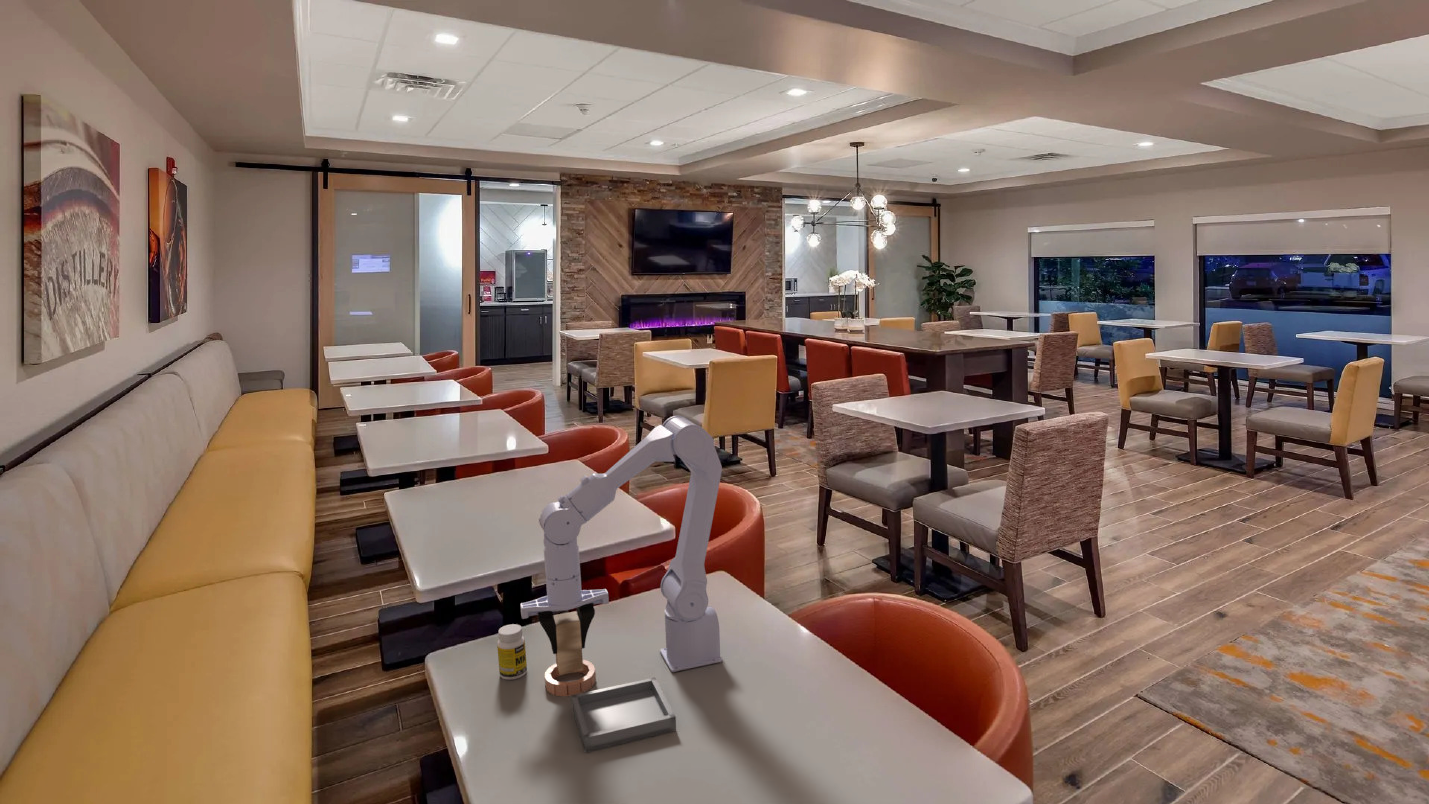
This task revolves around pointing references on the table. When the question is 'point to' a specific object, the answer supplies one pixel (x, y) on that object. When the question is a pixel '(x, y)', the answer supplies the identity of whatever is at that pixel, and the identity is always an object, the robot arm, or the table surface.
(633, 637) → the table surface
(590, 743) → the tray
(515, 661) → the supplement bottle
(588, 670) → the segmented block ring
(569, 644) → the oak peg
